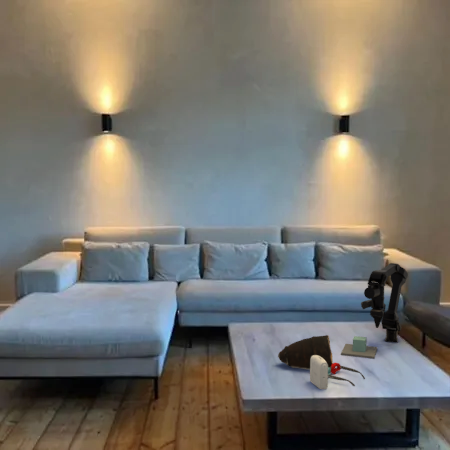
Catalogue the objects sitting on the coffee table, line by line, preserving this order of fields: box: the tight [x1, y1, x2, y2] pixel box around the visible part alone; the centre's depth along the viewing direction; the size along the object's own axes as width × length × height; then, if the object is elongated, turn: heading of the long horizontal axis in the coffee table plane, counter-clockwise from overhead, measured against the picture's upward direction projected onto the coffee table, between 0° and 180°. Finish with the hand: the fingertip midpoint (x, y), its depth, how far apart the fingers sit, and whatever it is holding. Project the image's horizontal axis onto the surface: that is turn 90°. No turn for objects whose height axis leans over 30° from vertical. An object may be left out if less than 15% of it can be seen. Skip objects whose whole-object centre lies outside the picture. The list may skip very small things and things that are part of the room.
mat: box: [340, 343, 378, 360], centre depth 263 cm, size 16×16×1 cm
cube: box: [352, 335, 367, 352], centre depth 263 cm, size 6×6×6 cm
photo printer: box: [309, 355, 329, 390], centre depth 220 cm, size 10×4×12 cm, turn 17°
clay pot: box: [277, 334, 334, 371], centre depth 242 cm, size 15×15×25 cm
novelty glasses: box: [328, 362, 366, 387], centre depth 227 cm, size 14×15×5 cm
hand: (377, 325), depth 268 cm, fingers open, 9 cm apart
